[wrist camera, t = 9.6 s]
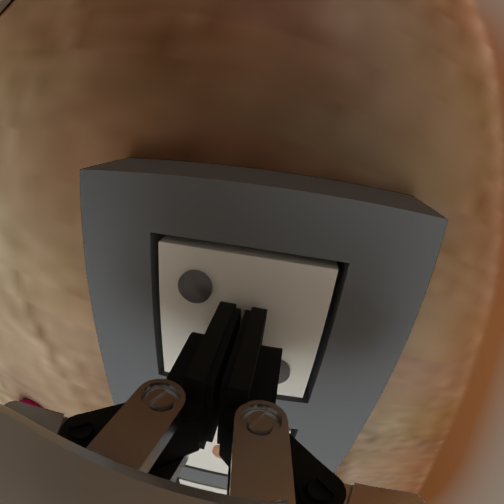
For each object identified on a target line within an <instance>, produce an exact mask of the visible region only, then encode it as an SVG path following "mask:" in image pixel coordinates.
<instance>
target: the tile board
mask: <svg viewBox="0 0 504 504" xmlns="http://www.w3.org/2000/svg"><path fill="white" fill-rule="evenodd" d="M80 199H81V219H82V232H83V244H84V254H85V263H86V271H87V279H88V286H89V293H90V299H91V305H92V311H93V317H94V322H95V327H96V332H97V337H98V342H99V346H100V351H101V355H102V360H103V364H104V368H105V372H106V376H107V380H108V383H109V387H110V391H111V394H112V398H113V401H114V404H115V405H118V404H121V403H125V402H126V401H127V400H128V399H129V398H130V397H131V396H132V394H133V393H134V392H135V391H136V390H137V389H138V388H139V387H140V386H141V385H142V384H143V383H145V382H147V381H149V380H153V379H166V378H167V376H168V374H169V373H170V372H166V371H165V370H164V359H163V346H162V332H161V315H160V294H159V254H158V241H160V240H161V239H162V238H163V237H164V236H166V235H171V236H178V237H184V238H191V239H198V240H204V241H211V242H217V243H224V244H230V245H237V246H243V247H250V248H256V249H263V250H269V251H276V252H282V253H288V254H295V255H301V256H308V257H314V258H320V259H327V260H333V261H336V262H337V266H338V274H337V278H336V282H335V286H334V290H333V294H332V298H331V302H330V306H329V310H328V314H327V318H326V321H325V325H324V329H323V332H322V336H321V339H320V343H319V346H318V350H317V353H316V357H315V360H314V363H313V367H312V370H311V373H310V376H309V379H308V383H307V386H306V389H305V392H304V395H303V398H301V397H293V396H285V395H279V394H277V397H276V405H278V406H279V407H280V408H282V409H283V411H284V412H285V413H286V415H287V419H288V425H289V428H290V429H291V433H290V434H291V435H292V436H293V437H294V438H295V439H296V440H297V441H298V442H299V443H300V444H302V445H303V446H304V447H305V448H306V449H307V450H308V451H309V452H310V453H311V454H312V455H313V456H315V457H316V458H317V459H318V460H319V461H320V462H321V463H322V464H324V465H325V466H326V467H327V468H328V469H329V470H330V471H331V472H333V473H334V472H335V470H336V469H337V467H338V466H339V465H340V463H341V462H342V460H343V458H344V457H345V455H346V454H347V452H348V451H349V449H350V448H351V446H352V444H353V443H354V441H355V440H356V438H357V436H358V435H359V433H360V431H361V430H362V428H363V426H364V424H365V423H366V421H367V419H368V418H369V416H370V414H371V412H372V410H373V409H374V407H375V405H376V403H377V401H378V399H379V397H380V396H381V394H382V392H383V390H384V388H385V386H386V384H387V382H388V380H389V378H390V376H391V374H392V372H393V370H394V368H395V365H396V363H397V361H398V359H399V357H400V355H401V353H402V350H403V348H404V346H405V343H406V341H407V339H408V337H409V334H410V332H411V329H412V327H413V324H414V322H415V320H416V317H417V314H418V312H419V309H420V307H421V304H422V301H423V299H424V296H425V293H426V290H427V287H428V285H429V282H430V279H431V276H432V273H433V270H434V267H435V263H436V260H437V257H438V254H439V250H440V247H441V243H442V240H443V236H444V233H445V229H446V225H447V221H448V219H446V218H445V217H444V216H442V215H441V214H439V213H438V212H436V211H435V210H433V209H432V208H430V207H429V206H427V205H426V204H424V203H423V202H421V201H420V200H418V199H417V198H415V197H414V196H410V195H406V194H401V193H396V192H392V191H387V190H382V189H377V188H372V187H367V186H362V185H357V184H352V183H346V182H341V181H335V180H329V179H323V178H317V177H311V176H305V175H298V174H291V173H284V172H277V171H270V170H262V169H254V168H246V167H237V166H228V165H219V164H209V163H198V162H186V161H173V160H158V159H141V158H125V159H120V160H116V161H112V162H107V163H103V164H99V165H95V166H91V167H87V168H83V169H80ZM180 477H181V478H184V479H188V480H192V481H196V482H200V483H204V484H208V485H213V486H218V487H222V488H227V478H228V474H224V473H219V472H214V471H210V470H205V469H201V468H197V467H193V466H189V465H185V466H184V468H183V469H182V471H181V473H180V474H179V476H178V478H177V479H176V481H175V482H177V483H180V482H179V478H180Z"/></svg>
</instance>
